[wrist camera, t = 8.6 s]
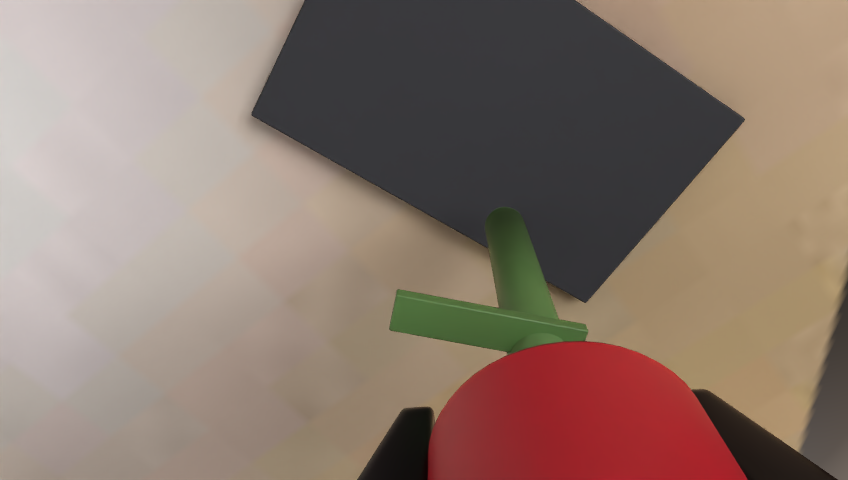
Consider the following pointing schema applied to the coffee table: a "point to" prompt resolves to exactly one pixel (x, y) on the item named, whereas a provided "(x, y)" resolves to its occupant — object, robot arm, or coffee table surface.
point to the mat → (500, 119)
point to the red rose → (555, 389)
